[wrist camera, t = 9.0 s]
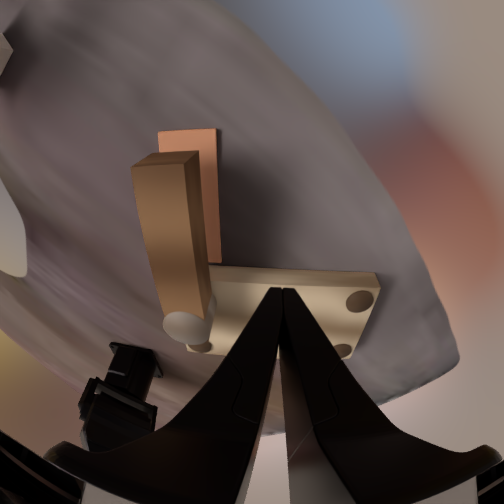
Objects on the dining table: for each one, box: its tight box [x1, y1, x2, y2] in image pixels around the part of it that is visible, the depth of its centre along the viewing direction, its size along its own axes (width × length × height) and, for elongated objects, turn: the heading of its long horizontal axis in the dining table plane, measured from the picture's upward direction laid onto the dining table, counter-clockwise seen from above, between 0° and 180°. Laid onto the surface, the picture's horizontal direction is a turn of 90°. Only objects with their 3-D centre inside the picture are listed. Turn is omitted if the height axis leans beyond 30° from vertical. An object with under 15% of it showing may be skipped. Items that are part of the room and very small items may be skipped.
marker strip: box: [158, 128, 222, 263], centre depth 19 cm, size 10×4×1 cm, turn 179°
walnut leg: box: [130, 150, 217, 345], centre depth 17 cm, size 14×4×3 cm, turn 0°
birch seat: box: [186, 265, 381, 359], centre depth 24 cm, size 10×17×2 cm, turn 89°
